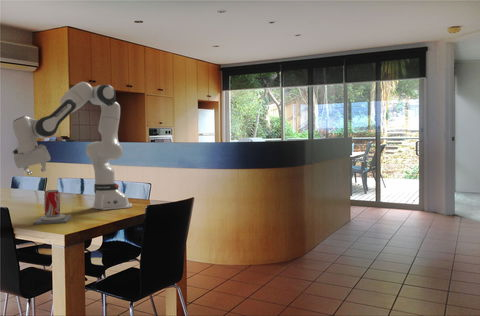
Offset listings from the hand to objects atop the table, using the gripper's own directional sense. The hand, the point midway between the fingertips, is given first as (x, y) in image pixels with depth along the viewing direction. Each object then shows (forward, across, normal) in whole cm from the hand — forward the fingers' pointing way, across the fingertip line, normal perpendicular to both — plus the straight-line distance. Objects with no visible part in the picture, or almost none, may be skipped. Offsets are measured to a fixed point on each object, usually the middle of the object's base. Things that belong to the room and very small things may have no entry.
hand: (36, 173), depth 220 cm
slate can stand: (+25, -9, +8) cm, 28 cm away
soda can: (+23, -9, +8) cm, 26 cm away
